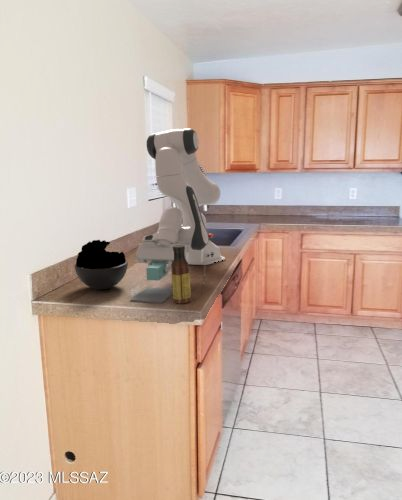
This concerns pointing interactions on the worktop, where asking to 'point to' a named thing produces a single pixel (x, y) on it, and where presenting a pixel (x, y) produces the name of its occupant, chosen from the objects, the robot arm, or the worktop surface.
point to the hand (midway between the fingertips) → (157, 272)
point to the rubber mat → (153, 295)
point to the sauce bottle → (180, 276)
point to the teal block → (156, 271)
